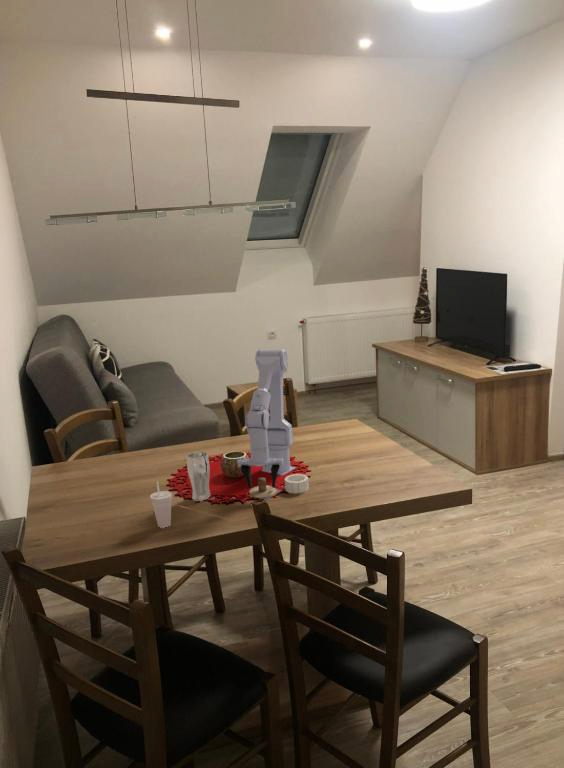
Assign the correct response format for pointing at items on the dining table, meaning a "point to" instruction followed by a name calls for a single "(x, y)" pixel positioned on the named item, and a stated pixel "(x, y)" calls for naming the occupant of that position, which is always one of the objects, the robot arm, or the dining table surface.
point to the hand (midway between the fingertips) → (262, 486)
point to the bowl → (296, 483)
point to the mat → (273, 495)
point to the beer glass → (199, 475)
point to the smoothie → (162, 507)
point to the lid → (262, 489)
